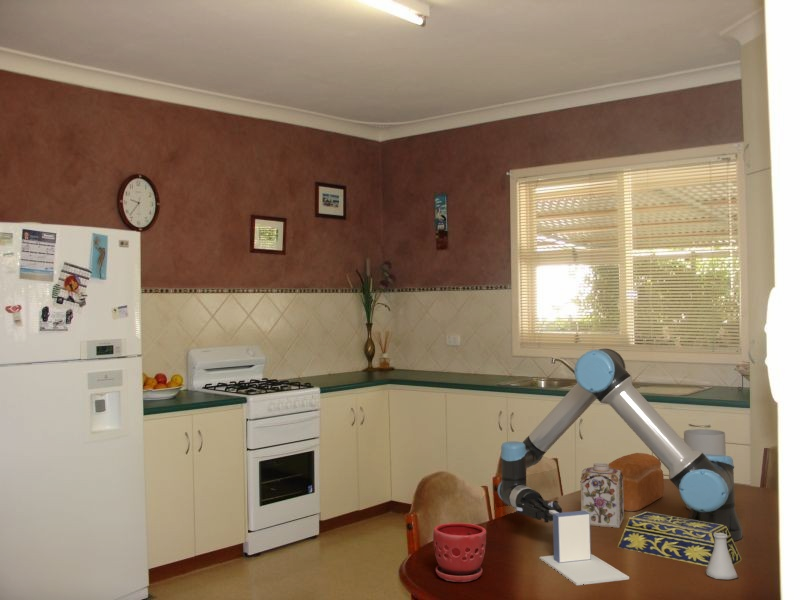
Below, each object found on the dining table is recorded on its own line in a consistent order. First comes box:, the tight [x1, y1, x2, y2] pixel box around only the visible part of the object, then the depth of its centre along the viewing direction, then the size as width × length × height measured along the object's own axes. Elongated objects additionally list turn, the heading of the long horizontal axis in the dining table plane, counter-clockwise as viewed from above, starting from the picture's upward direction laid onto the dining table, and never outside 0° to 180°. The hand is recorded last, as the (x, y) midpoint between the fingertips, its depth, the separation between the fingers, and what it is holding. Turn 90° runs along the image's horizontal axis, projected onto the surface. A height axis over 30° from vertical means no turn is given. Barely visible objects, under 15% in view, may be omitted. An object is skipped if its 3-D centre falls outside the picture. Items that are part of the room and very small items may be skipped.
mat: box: [539, 553, 630, 586], centre depth 197 cm, size 21×14×1 cm, turn 14°
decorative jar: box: [580, 462, 625, 529], centre depth 240 cm, size 12×12×18 cm
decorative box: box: [617, 511, 743, 567], centre depth 208 cm, size 11×30×9 cm, turn 45°
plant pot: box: [432, 522, 487, 583], centre depth 194 cm, size 13×13×12 cm
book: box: [552, 510, 592, 563], centre depth 203 cm, size 3×9×12 cm, turn 104°
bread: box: [608, 452, 665, 512], centre depth 264 cm, size 14×26×16 cm, turn 142°
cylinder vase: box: [683, 428, 727, 511], centre depth 253 cm, size 12×12×25 cm
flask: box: [705, 533, 739, 581], centre depth 190 cm, size 7×7×10 cm
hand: (562, 521), depth 207 cm, fingers closed
